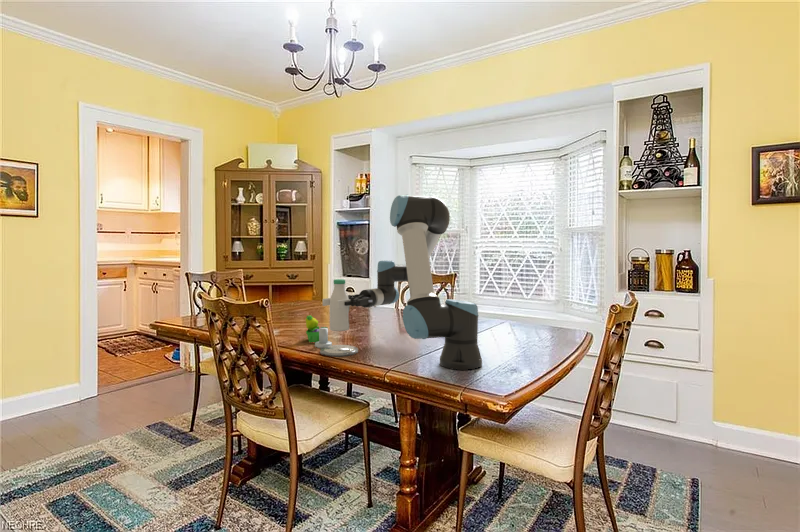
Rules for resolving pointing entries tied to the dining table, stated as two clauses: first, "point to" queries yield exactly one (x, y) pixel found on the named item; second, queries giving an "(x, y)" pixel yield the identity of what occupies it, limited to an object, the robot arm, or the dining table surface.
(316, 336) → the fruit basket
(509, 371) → the dining table surface
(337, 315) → the milk bottle
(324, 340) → the small pipe fitting
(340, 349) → the grey plate
